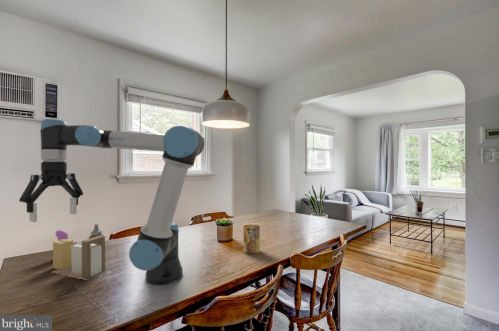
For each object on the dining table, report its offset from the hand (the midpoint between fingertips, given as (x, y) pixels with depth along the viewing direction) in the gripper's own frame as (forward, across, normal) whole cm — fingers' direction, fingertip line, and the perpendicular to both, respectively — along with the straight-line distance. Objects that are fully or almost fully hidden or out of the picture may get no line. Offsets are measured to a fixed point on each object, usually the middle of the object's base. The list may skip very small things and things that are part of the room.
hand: (54, 217), depth 90 cm
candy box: (+29, -66, +56) cm, 91 cm away
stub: (+28, -16, -20) cm, 38 cm away
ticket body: (+28, -16, -5) cm, 33 cm away
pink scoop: (+29, -24, -32) cm, 50 cm away
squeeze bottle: (+29, -28, -15) cm, 43 cm away
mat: (+29, -16, -9) cm, 34 cm away
